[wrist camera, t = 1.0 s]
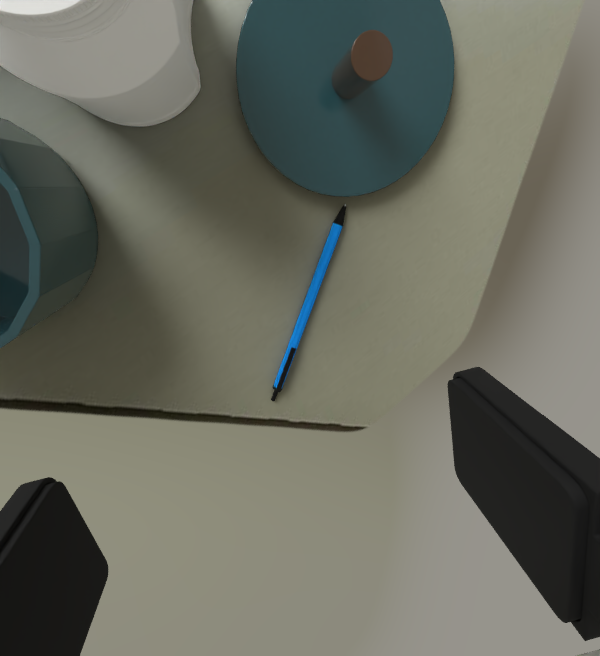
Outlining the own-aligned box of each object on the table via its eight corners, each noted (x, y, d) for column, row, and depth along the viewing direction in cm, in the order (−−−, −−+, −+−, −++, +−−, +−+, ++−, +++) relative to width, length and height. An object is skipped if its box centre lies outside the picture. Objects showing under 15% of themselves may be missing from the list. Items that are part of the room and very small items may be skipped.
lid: (193, 106, 29) (179, 84, 22) (324, -119, 25) (351, -219, 19) (360, 235, 34) (387, 247, 27) (488, 61, 30) (551, 28, 24)
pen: (268, 396, 38) (268, 402, 37) (339, 201, 32) (342, 202, 31) (276, 398, 38) (277, 404, 37) (349, 205, 33) (352, 206, 32)
